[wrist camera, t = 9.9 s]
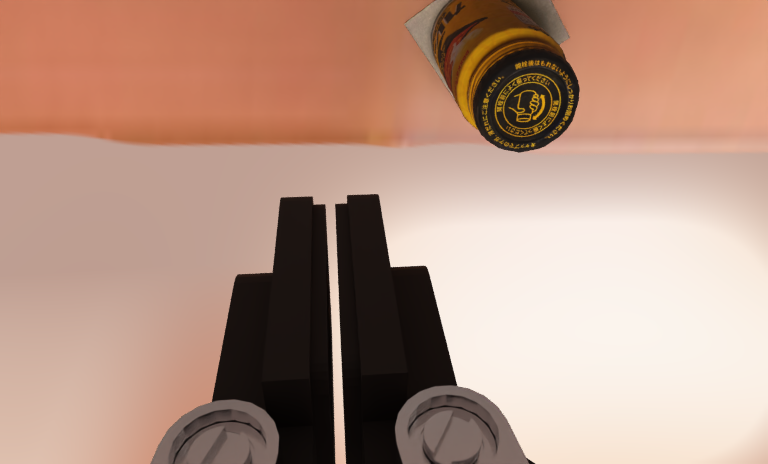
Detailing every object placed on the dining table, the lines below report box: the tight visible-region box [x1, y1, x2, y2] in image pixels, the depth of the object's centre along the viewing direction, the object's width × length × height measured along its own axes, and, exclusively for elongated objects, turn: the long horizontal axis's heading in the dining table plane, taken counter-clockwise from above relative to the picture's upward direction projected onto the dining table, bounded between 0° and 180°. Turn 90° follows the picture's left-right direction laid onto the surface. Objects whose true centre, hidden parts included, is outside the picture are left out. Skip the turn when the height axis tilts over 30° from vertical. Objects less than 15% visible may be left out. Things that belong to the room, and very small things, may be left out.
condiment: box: [404, 0, 579, 152], centre depth 32 cm, size 7×8×12 cm
